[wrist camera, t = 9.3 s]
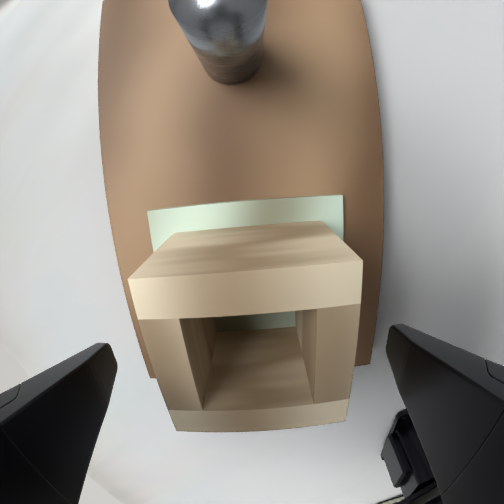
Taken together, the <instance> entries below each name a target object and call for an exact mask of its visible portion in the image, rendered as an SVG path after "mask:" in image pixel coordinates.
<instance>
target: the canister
mask: <svg viewBox="0 0 504 504" xmlns="http://www.w3.org/2000/svg"><path fill="white" fill-rule="evenodd" d="M402 499H404V496H403V497H400V498H396V499H393V500H389V501H387V502H383V503H381V504H393V503H395V502H399V501H401V500H402Z"/></svg>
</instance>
